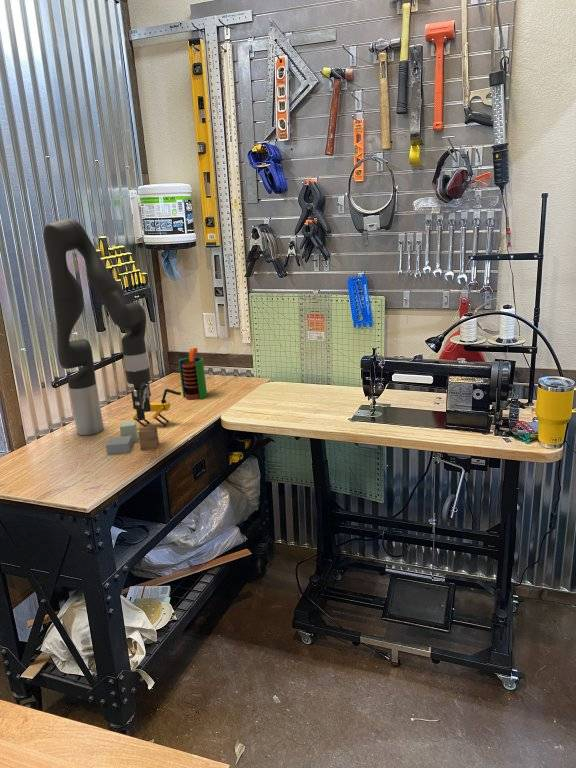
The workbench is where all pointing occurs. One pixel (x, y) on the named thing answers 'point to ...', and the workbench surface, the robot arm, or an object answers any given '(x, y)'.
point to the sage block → (129, 429)
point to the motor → (193, 376)
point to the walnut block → (148, 437)
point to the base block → (119, 444)
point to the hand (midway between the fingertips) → (144, 415)
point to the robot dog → (158, 408)
